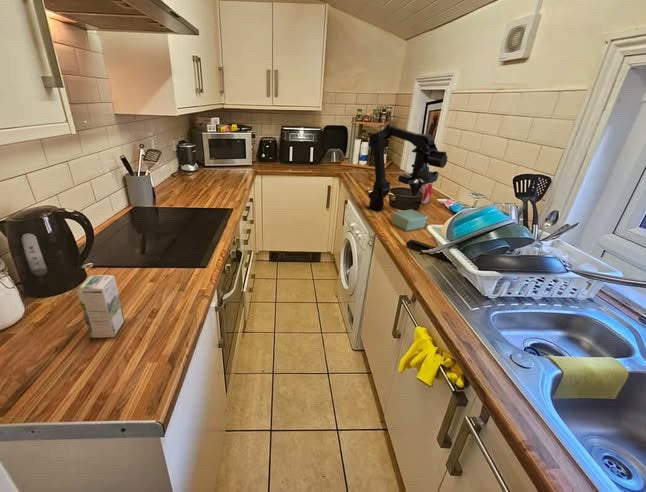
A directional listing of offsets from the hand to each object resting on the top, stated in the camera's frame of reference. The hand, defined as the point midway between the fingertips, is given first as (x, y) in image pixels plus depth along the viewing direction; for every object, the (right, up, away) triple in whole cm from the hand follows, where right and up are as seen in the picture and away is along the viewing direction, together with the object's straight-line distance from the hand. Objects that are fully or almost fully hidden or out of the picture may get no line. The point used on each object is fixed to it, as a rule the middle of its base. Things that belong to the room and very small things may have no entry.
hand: (414, 195), depth 143 cm
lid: (-3, -10, -3) cm, 10 cm away
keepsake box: (-3, -14, -1) cm, 14 cm away
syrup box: (-104, -40, -67) cm, 130 cm away
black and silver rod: (-4, -25, -26) cm, 36 cm away
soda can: (+17, -1, +31) cm, 36 cm away
